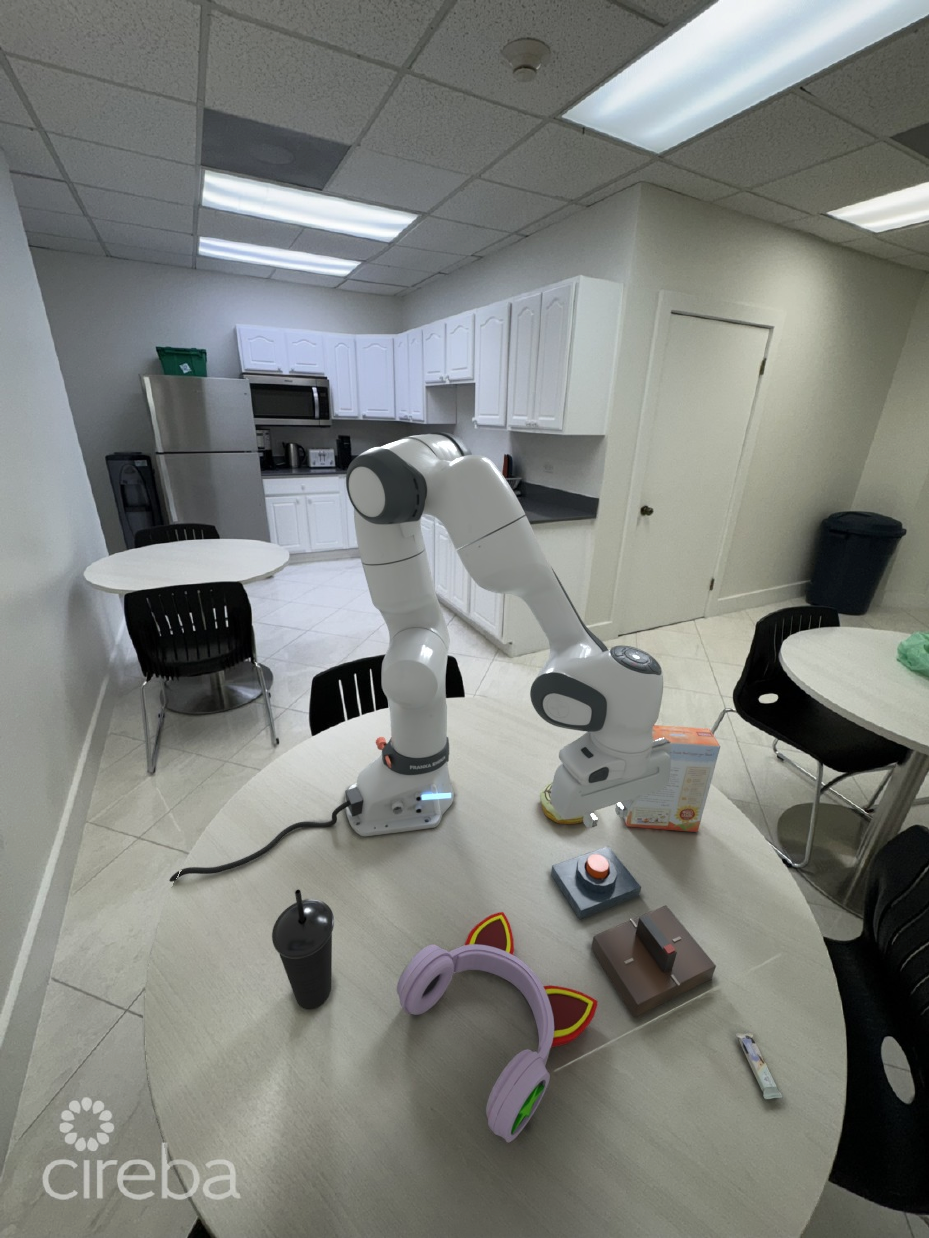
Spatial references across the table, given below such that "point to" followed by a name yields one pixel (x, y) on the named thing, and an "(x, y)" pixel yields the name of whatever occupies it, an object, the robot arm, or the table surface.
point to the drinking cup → (306, 949)
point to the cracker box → (679, 782)
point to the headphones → (552, 1006)
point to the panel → (651, 962)
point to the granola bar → (759, 1066)
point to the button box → (594, 884)
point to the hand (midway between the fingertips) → (605, 819)
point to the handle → (656, 943)
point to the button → (597, 866)
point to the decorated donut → (550, 810)
